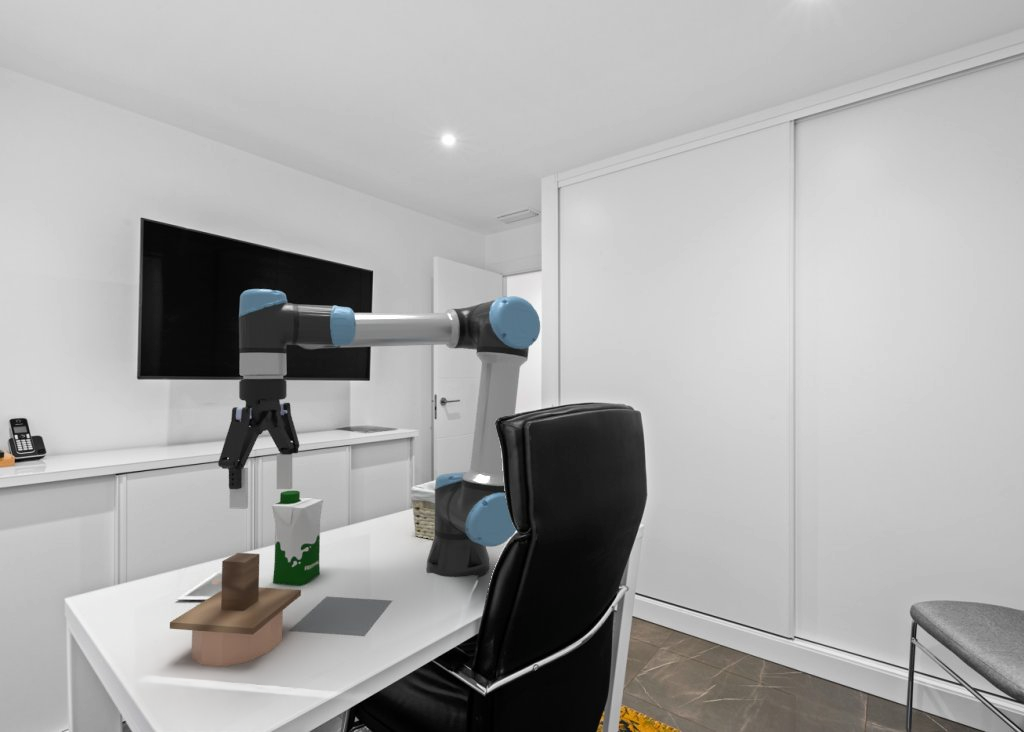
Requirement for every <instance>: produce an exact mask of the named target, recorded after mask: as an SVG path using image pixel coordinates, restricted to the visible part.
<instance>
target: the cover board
mask: <svg viewBox="0 0 1024 732" xmlns="http://www.w3.org/2000/svg"><path fill="white" fill-rule="evenodd" d="M221 562H222V563H221V564H222V565H221V567H222V568H221V571H222V590H221V591H220V592H218V593H217V594H215V595H213V596H212V597H210V598H208V599H207V600H204V601H201V603H199V604H197V605H195V606H194V607H192V608H191V609H188V610H187V611H185V612H184V613H183V614H181V615H180V616H178V617H176V618H175V619H172V620H171V621H169V629H171V630H184V631H192V630H195V631H209V632H223V633H237V634H251V635H253V634H254V633H256V632H257V631H258V630H259V629H260V628H262V627H263V626H264V625H265V624H267V623H268V622H269V621H270V620H271V619H273V618H274V617H275V616H276V615H278V614H279V613H280V612H281V611H282V610H283V611H284V610H285V609H287V607H289V606H290V605H291V604H292V603H294V602H295V601H297V600H298V598H300V597H301V596H302V590H301V589H295V588H294V589H291V588H279V587H278V588H274V587H260V553H249V552H248V553H247V552H246V553H245V552H236V553H235V554H233V555H231V556H230V557H227V558H226V559H224V560H222V561H221Z"/></svg>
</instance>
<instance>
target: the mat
mask: <svg viewBox="0 0 1024 732" xmlns="http://www.w3.org/2000/svg"><path fill="white" fill-rule="evenodd" d="M392 602H393V600H391V599H390V600H388V599H374V598H373V599H372V598H357V597H355V598H354V597H344V596H343V597H341V596H325V598H322V600H321V601H320V602H318V603H317V604H316V605H315V607H313V608H312V609H311V610H310V611H308V613H306V615H305V616H304V617H302V618H301V619H300V620H299V621H298V622H297V623H296V624H294V625H293V626H292V627H291V628H290V629H289V630H288V631H289V632H301V633H312V634H313V633H314V634H330V635H341V636H343V635H344V636H355V637H357V636H358V637H365V636H366V635H367V634H368V632H369V631H370V630H371V629H372V628H373V626H374V625H375V624H376V622H377V621H378V620H379V618H380V617H381V616H382V615H383V614H384V612H385V611H386V610H387V608H388V607H389V606H390V604H391V603H392Z"/></svg>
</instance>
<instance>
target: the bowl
mask: <svg viewBox="0 0 1024 732" xmlns="http://www.w3.org/2000/svg"><path fill="white" fill-rule="evenodd" d="M283 611H284V610H282V611H281V612H280V613H279V614H278V615H276V616H275V617H274V618H273V619H271V620H270V621H269V622H268V623H267V624H265V625H264V626H263V627H262V628H260V629H259V630H258V631H257V632H256V633H254V634H253V635H251V634H237V633H223V632H209V631H195V630H191V658H192V659H193V660H195V661H196V662H197V663H198V664H200V665H201V666H212V667H226V666H227V667H228V666H231V665H232V666H233V665H236V664H241V663H248V662H250V661H252V660H254V659H256V658H258V657H261V656H264V655H265V654H268V653H270V652H272V650H273V649H274V648H276V647H277V646H278V645H279V644H280V643H281V642H282V641H283V617H284V616H283V614H284V612H283Z"/></svg>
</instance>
